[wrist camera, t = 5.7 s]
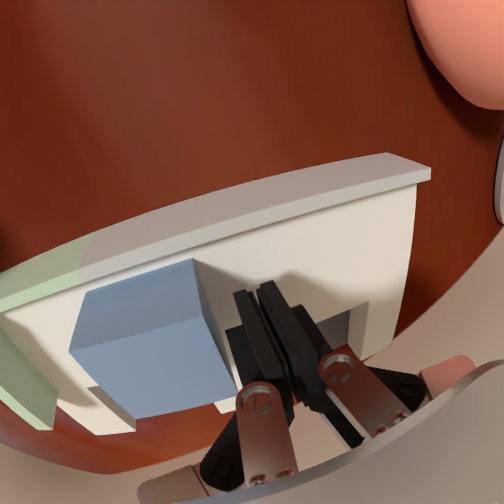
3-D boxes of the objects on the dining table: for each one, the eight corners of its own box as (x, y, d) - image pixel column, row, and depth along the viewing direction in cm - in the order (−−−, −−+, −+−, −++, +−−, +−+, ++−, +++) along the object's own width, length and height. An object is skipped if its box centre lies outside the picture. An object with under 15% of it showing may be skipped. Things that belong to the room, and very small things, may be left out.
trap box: (386, 152, 14) (461, 180, 9) (374, 325, 21) (411, 370, 17) (-14, 280, 10) (-52, 341, 6) (97, 411, 18) (96, 466, 13)
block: (191, 257, 11) (202, 315, 8) (223, 338, 14) (239, 394, 11) (86, 292, 10) (68, 351, 7) (134, 363, 13) (135, 419, 10)
